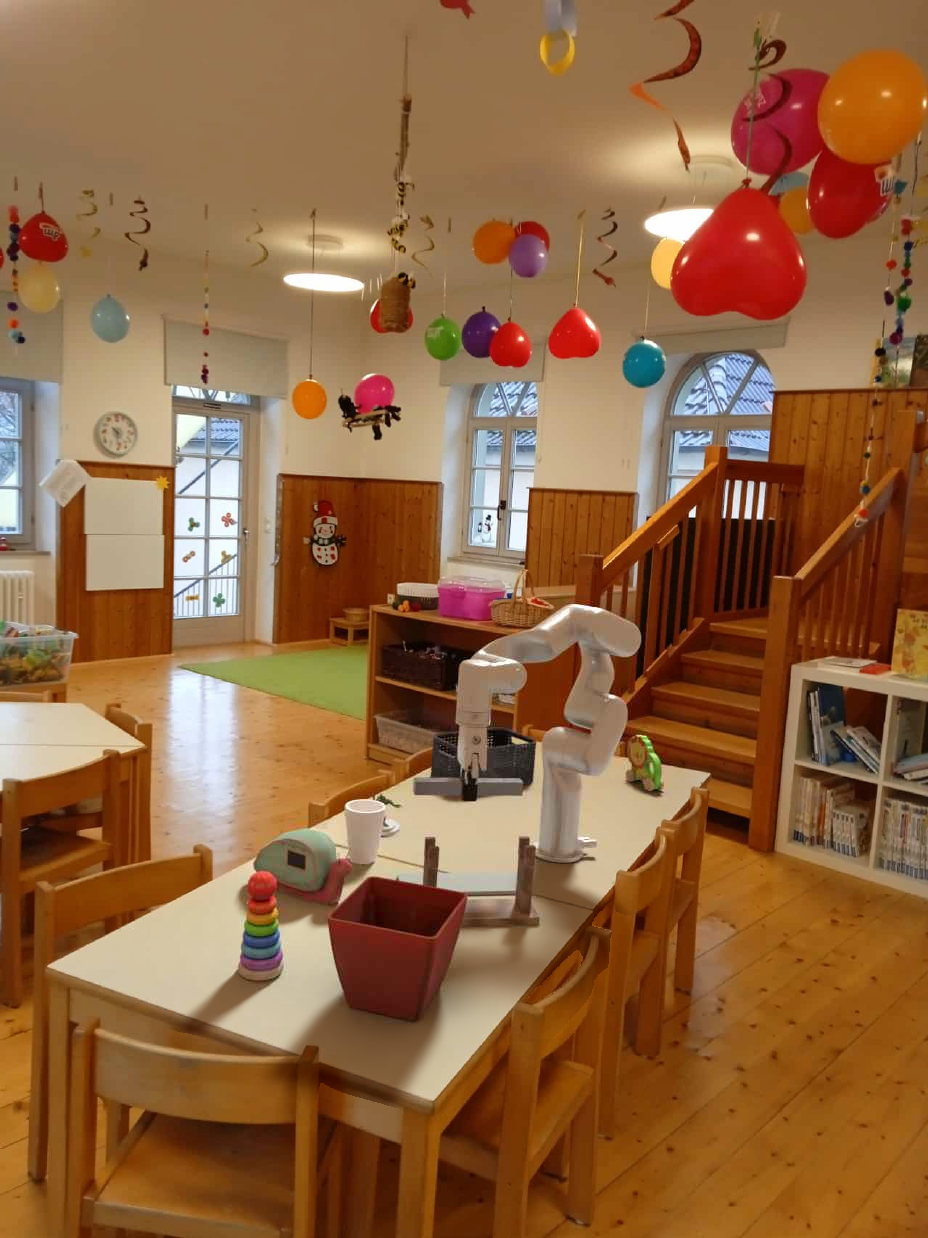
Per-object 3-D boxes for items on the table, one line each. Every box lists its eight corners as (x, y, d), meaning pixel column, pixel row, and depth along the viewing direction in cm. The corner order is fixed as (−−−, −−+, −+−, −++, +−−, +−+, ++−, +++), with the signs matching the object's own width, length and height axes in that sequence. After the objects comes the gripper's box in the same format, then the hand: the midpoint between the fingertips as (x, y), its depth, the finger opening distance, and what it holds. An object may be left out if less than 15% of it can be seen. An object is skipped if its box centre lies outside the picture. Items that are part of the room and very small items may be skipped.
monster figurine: (361, 839, 233) (363, 799, 231) (346, 822, 244) (348, 784, 242) (406, 834, 238) (408, 795, 236) (390, 818, 249) (392, 781, 247)
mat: (517, 875, 217) (518, 872, 217) (528, 893, 207) (528, 890, 207) (397, 877, 211) (397, 873, 211) (402, 896, 202) (402, 892, 202)
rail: (519, 791, 210) (520, 778, 210) (522, 795, 207) (523, 782, 207) (412, 790, 205) (413, 777, 205) (414, 795, 202) (415, 781, 202)
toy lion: (664, 792, 286) (669, 743, 284) (649, 793, 284) (654, 744, 282) (634, 776, 300) (638, 730, 298) (620, 777, 298) (624, 731, 296)
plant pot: (365, 960, 174) (369, 873, 172) (463, 981, 169) (469, 892, 166) (320, 1013, 156) (324, 917, 153) (429, 1038, 150) (435, 939, 148)
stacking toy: (241, 960, 171) (244, 862, 169) (285, 960, 172) (289, 863, 169) (234, 982, 163) (237, 880, 161) (280, 983, 164) (284, 881, 161)
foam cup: (389, 856, 223) (392, 803, 221) (373, 870, 215) (375, 815, 213) (353, 849, 226) (355, 797, 224) (335, 862, 218) (338, 808, 216)
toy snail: (247, 882, 204) (249, 821, 202) (272, 871, 211) (274, 812, 209) (337, 915, 191) (340, 850, 189) (360, 902, 198) (363, 840, 196)
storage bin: (500, 765, 303) (503, 725, 302) (538, 783, 288) (541, 740, 286) (425, 776, 287) (428, 734, 285) (462, 795, 271) (465, 750, 269)
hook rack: (528, 905, 201) (533, 833, 199) (539, 924, 193) (544, 850, 190) (412, 907, 197) (417, 834, 194) (418, 927, 188) (423, 851, 186)
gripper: (498, 726, 197) (492, 811, 199) (482, 708, 213) (477, 786, 215) (463, 726, 195) (457, 811, 198) (449, 707, 211) (444, 786, 214)
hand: (467, 797), depth 206 cm, fingers closed on rail, 3 cm apart
